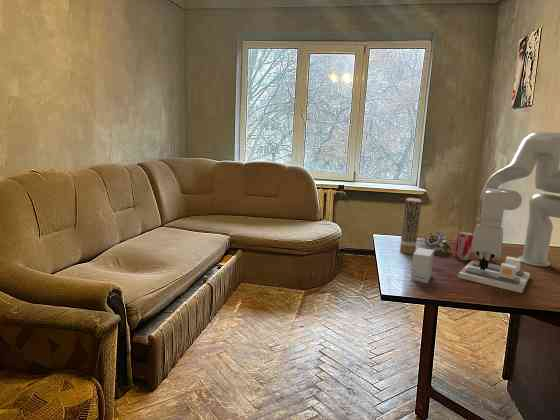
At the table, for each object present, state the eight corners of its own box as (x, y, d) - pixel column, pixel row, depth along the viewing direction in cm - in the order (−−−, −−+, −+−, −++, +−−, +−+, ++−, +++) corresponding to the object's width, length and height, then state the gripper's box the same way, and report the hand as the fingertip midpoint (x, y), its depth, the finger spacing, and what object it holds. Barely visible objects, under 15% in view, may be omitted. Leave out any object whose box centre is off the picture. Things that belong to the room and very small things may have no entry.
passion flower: (428, 262, 200) (416, 239, 202) (440, 255, 206) (428, 233, 208) (447, 255, 191) (434, 231, 193) (459, 247, 197) (446, 225, 199)
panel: (470, 264, 181) (471, 258, 181) (529, 277, 169) (530, 270, 168) (458, 277, 164) (459, 270, 163) (521, 293, 151) (523, 285, 151)
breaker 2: (500, 273, 161) (502, 262, 160) (515, 277, 158) (517, 265, 157) (498, 276, 158) (500, 265, 157) (513, 280, 155) (515, 268, 154)
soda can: (472, 262, 186) (476, 235, 183) (455, 260, 187) (459, 234, 185) (469, 257, 193) (472, 232, 190) (452, 255, 194) (456, 230, 192)
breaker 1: (505, 266, 171) (507, 256, 170) (519, 269, 168) (521, 259, 167) (504, 268, 167) (505, 258, 167) (518, 272, 165) (520, 261, 164)
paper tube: (417, 253, 195) (424, 200, 190) (410, 255, 190) (417, 201, 185) (403, 249, 199) (410, 197, 194) (397, 252, 194) (403, 198, 189)
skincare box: (414, 272, 167) (417, 246, 165) (431, 275, 164) (435, 249, 162) (409, 279, 158) (413, 253, 156) (427, 283, 155) (431, 256, 153)
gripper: (467, 221, 160) (460, 266, 164) (511, 228, 152) (502, 276, 155) (471, 218, 166) (464, 262, 170) (514, 225, 158) (505, 271, 161)
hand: (483, 269), depth 163 cm, fingers closed
